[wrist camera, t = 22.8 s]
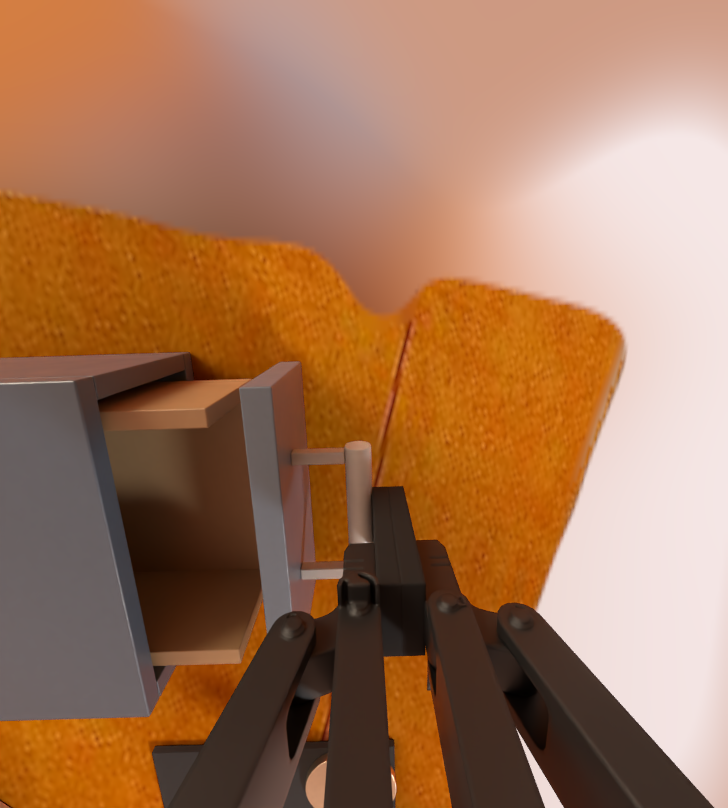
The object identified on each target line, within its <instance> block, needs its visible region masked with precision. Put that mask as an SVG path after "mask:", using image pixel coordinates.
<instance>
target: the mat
mask: <svg viewBox="0 0 728 808" xmlns="http://www.w3.org/2000/svg"><path fill="white" fill-rule="evenodd" d="M202 747H203V745H181V746H155V748H154V750H153V752H152V755H153V760H154V764H155V769H156V773H157V777H158V782H159V786H160V791H161V795H162V799H163V804H164V808H168V806H169V804H170V802H171V801H172V799H173V797H174V795H175V794H176V792H177V790H178V788H179V787H180V785H181V783H182V782H183V780H184V778H185V776H186V775H187V773H188V771H189V769H190V768H191V766H192V764H193V762H194V761H195V759H196V757H197V755H198V754H199V752H200V750H201V748H202ZM389 750H390V765H391V766H392V768H393V770H394V773H395V757H394V740H389ZM326 753H328V741H325V742H305V745H304V748H303V751H302V754H301V757H300V759H299V762H298V765H297V768H296V771H295V774H294V777H293V780H292V783H291V786H290V788H289V791H288V794H287V797H286V800H285V803H284V806H283V808H314V807H313V806H312V805H311V803H310V802H309V800H308V798H307V795H306V778H307V774H308V771H309V769H310V767H311V765H312V764H313V763H314V762H315V761H316V760H317V759H318V758H319V757H321V756H322V755H324V754H326ZM393 808H395V798H394V800H393Z"/></svg>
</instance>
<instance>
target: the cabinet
mask: <svg viewBox="0 0 728 808" xmlns="http://www.w3.org/2000/svg"><path fill="white" fill-rule="evenodd" d="M164 381H194V376H193V369H192V362H191V355H190V352H174V353H142V354H110V355H78V356H46V357H15V358H0V721H16V720H51V719H87V718H123V717H149V716H150V714H151V712H152V711H153V709H154V707H155V705H156V703H157V701H158V699H159V696H161V694H162V692H163V690H164V688H165V686H166V684H167V682H168V680H169V679H170V677H171V675H172V673H173V671H174V669H175V667H176V665H167V666H153V664H152V659H151V654H150V650H149V645H148V640H147V635H146V631H145V626H144V621H143V616H142V611H141V607H140V602H139V597H138V592H137V588H136V583H135V578H134V573H133V569H132V564H131V559H130V554H129V549H128V545H127V540H126V535H125V530H124V526H123V521H122V516H121V511H120V507H119V502H118V497H117V492H116V488H115V483H114V478H113V473H112V468H111V464H110V459H109V454H108V449H107V445H106V440H105V435H104V430H103V426H102V421H101V416H100V411H99V407H98V402H97V400H99V399H102V398H105V397H108V396H111V395H114V394H117V393H120V392H122V391H125V390H128V389H131V388H134V387H137V386H140V385H143V384H146V383H149V382H164Z"/></svg>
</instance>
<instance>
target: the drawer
mask: <svg viewBox="0 0 728 808" xmlns="http://www.w3.org/2000/svg"><path fill="white" fill-rule="evenodd" d="M97 402H98V407H99V411H100V416H101V421H102V426H103V430H104V435H105V440H106V445H107V449H108V454H109V459H110V464H111V468H112V473H113V478H114V483H115V488H116V492H117V497H118V502H119V507H120V511H121V516H122V521H123V526H124V530H125V535H126V540H127V545H128V549H129V554H130V559H131V564H132V569H133V573H134V578H135V583H136V588H137V592H138V597H139V602H140V607H141V611H142V616H143V621H144V626H145V631H146V635H147V640H148V645H149V650H150V654H151V659H152V664H153V666H167V665H202V664H237V663H241V661H242V658H243V655H244V652H245V649H246V647H247V644H248V641H249V638H250V635H251V632H252V629H253V626H254V623H255V620H256V617H257V615H258V612H259V609H260V606H261V603H262V600H263V602H264V611H265V620H266V629H267V634H268V632H269V630H270V628H271V627H272V625H273V624H274V622H275V621H276V620H277V619H278V618H279V617H281V616H282V615H284V614H285V613H289V612H292V611H303V612H306V613H308V614H310V611H311V605H312V599H313V594H314V588H315V582H316V579H340V578H341V577H342V576H343V564H344V561H330V562H315V549H314V535H313V521H312V507H311V493H310V480H309V466H308V465H324V464H344V463H345V468H346V490H347V512H348V533H349V544H351V543H374V538H373V505H372V462H371V444H370V443H368V442H365V441H352V442H349V443H347V444H345V448H316V449H307V438H306V424H305V410H304V396H303V382H302V368H301V362H300V361H296V362H279V363H277V364H276V365H274V366H273V367H271V368H270V369H268V370H267V371H265V372H263V373H262V374H260V375H259V376H257V377H256V378H254V379H228V380H196V381H164V382H149V383H146V384H143V385H140V386H137V387H134V388H131V389H128V390H125V391H122V392H120V393H117V394H114V395H111V396H108V397H105V398H102V399H99V400H97Z"/></svg>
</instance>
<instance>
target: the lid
mask: <svg viewBox="0 0 728 808" xmlns="http://www.w3.org/2000/svg"><path fill="white" fill-rule="evenodd" d="M326 767H327V753H326V754H324V755H322V756H321V757H319V758H318V759H317V760H316V761H315V762H314V763H313V764H312V765H311V767H310V769H309V771H308V774H307V778H306V795H307V798H308V800H309V802H310V803H311V805H312V806H313V807H314V808H323V807H324V793H325V780H326ZM391 781H392V796H393V800H394V798H395V794H396V776H395V773H394V770H393V768H392V766H391Z"/></svg>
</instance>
